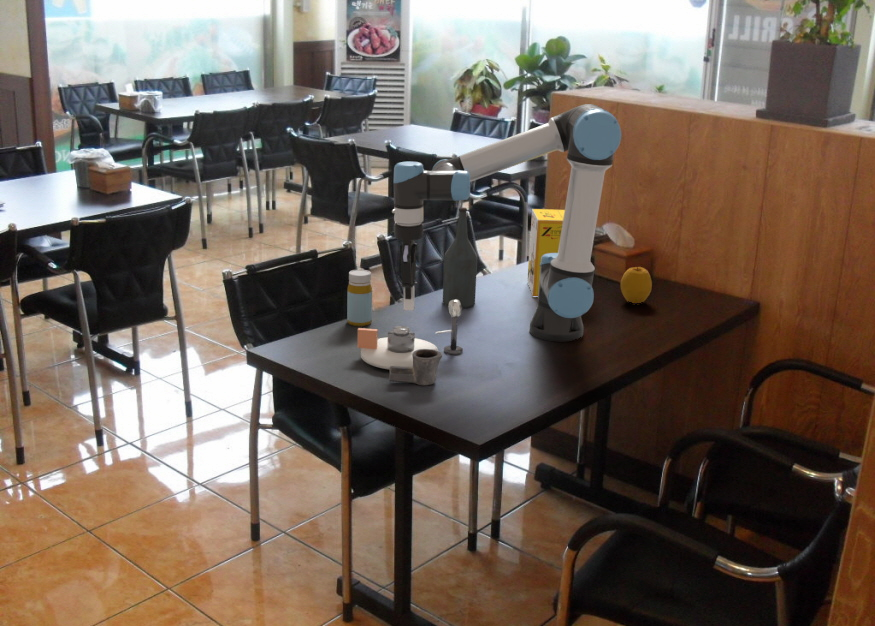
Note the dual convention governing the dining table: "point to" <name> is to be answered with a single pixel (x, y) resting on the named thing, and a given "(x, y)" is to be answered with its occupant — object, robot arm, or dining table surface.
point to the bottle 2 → (460, 267)
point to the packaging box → (543, 241)
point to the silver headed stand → (453, 328)
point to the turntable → (386, 350)
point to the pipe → (418, 368)
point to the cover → (401, 340)
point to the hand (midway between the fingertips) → (409, 309)
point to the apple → (636, 284)
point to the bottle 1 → (359, 298)
